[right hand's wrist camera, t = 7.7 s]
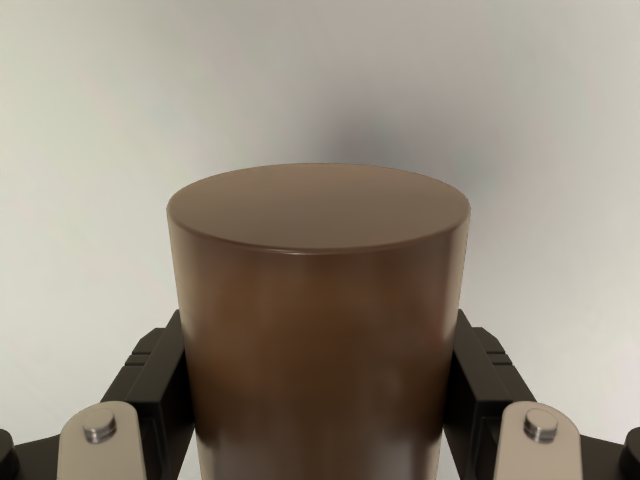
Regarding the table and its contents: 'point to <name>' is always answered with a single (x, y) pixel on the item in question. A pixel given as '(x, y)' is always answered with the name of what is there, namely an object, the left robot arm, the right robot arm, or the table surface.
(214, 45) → the table surface
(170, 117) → the table surface
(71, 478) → the right robot arm
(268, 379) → the rod
